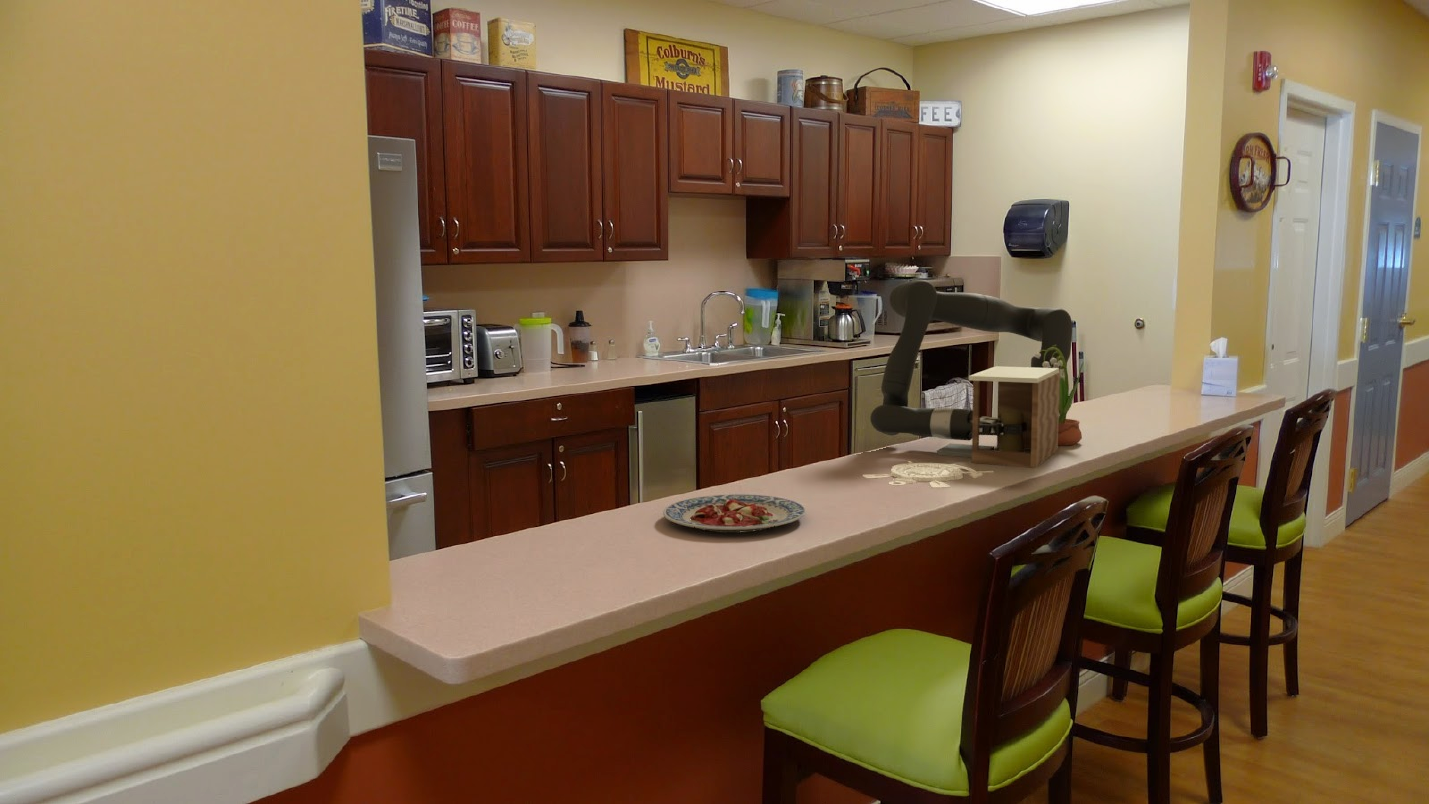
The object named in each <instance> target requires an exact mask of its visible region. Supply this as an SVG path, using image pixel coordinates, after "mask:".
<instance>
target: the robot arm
mask: <svg viewBox="0 0 1429 804" xmlns="http://www.w3.org/2000/svg"><path fill="white" fill-rule="evenodd" d="M889 304H890V308H892V310H893V311H894V313H895V314H897V315H899V316H900V317H902V318H904V322H903V325H902V326H903V328H902V330H901V332H900V335H899V336H898V340H897V341H896V343H895V344H894V346H893V349H892V350H891V352H890V354H889V356H888V358H887V361H886V363H885V364H886V365H885V368H884V373H883V376H882V381H881V387H880V388H881V389H880V391H881V394H882V395H883V400H882V404H881V405H878V406H877V407H875V408H874V409H873V410H872V412H871V413H870V423H871V426H872V427H873V429H875V430H876V431H877V432H879V433H881V434H884V435H887V436H892V437H893V436H896V435H899V434H910V435H913V436H917V437H926V438H928V437H930V438H938V439H944V440H956V441H967V442H969V441H972V428H973V409H970V408H969V409H967V408H948V407H945V408H943V407H941V408H932V407H931V408H930V407H929V408H928V407H926V408H925V407H909V392H910V390H911V389H910V388H911V384H912V379H913V377H914V376H913V374H914V370H915V366H916V361H917V359H918V355H919V352H920V349H921V346H922V343H923V340H924V337H925V335H926V333H927V331H928V330H927V329H928V326H929V324H930V322H931V320H934V321H935V320H936V321H940V322H943V323H946V324H951V325H955V326H957V327H958V326H959V327H962V328H967V329H971V330H976V331H983V332H989V333H990V332H991V333H1010V334H1015V335H1018V336H1020V337H1021V336H1022V337H1025V338H1028V339H1031V340H1033V341H1036V342H1041V347H1040V351H1041V350H1047V349H1048V348H1052V346H1053V345H1056V346H1053V347H1055V348H1058V349H1059V350H1060V351H1061V353H1062V355H1063V357H1064V359H1065V362H1066V366H1067V367H1068V362H1069V359H1070V356H1071V350H1072V339H1073V320H1072V318H1071V315H1070V313H1069V312H1068V311H1066V310H1065V309H1063V308H1057V307H1029V306H1028V307H1027V306H1018V305H1014V304H1011V303H1010V302H1007V301H1006V300H1004V299H1001V298H998V297H996V296H992V295H985V294H983V293H982V294H980V293H975V292H973V293H972V292H958V291H957V292H945V291H944V292H943V291H937V290H936V288H935V286H934V285H933V284H932V283H931V282H930V281H928V280H924V279H915V280H908V281H904V282H901V283H900V284H898V285H896V286H895V287H894V288H893V289H892V291H891V292H890V294H889ZM1040 351H1038V353H1040V354H1041V356H1040V359H1039V358H1036V357H1034V356H1035V355H1034V356H1032V357H1031V358H1030V359H1031V360H1030V367H1034V368H1044V367H1043V365H1042V364H1043V362H1044V354H1045V352H1046V351H1041V352H1040ZM1054 352H1056V350H1049V351H1048V352H1047V353H1046V356H1045V361H1046V362H1049V364H1050V366H1051V367H1048V368H1053V367H1054V364H1052V365H1051V362H1050V360H1051V358H1052V355H1053V353H1054ZM1058 356H1060V355H1059V353H1058V352H1057V353H1055V354H1054V355H1053V358H1057V357H1058ZM1057 360H1058V358H1057ZM1058 361H1060V358H1059V360H1058ZM1061 361H1062V359H1061ZM1057 363H1058V362H1057ZM1062 366H1063V365H1062ZM1060 367H1061V366H1059V369H1060ZM1063 371H1064V367H1062V368H1061V369H1060V371H1059V372H1060V374H1061V375H1062V373H1063ZM1063 376H1064V377H1065V375H1064V373H1063ZM1059 416H1060V414H1059ZM1026 430H1027V422H1023V423H1022V424H1021V425H1014V424H1006V426H1005V424H1004V423H1003V422H1002V420H1001V418H998V417H994V416H981V417H979V436H996V437H997V436H999V435H1000V434H1001V435H1003V434H1017V435H1020V434H1022V431H1026Z"/></svg>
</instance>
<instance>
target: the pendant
mask: <svg viewBox="0 0 1429 804" xmlns="http://www.w3.org/2000/svg"><path fill="white" fill-rule="evenodd" d="M907 461H908V462H909V463H908V462H907V463H903V462H902V463H900V464H895V465H892V466H891V470H890V473H880V474H879V473H878V474H876V473H875V474H873V473H872V474H870V473H869V474H862V477H863V478H864V479H880V478H881V479H882V478H885V479H886V478H890V477H894V478H893V479H892V480H891V481H889V482H888V485H890V486H897V485H899V486H905V485H906V484H912V485H913V484H917V482H929V483H928V484H929V485H930V487H931V488H932V489H947V488H949V489H950V488H952V487H951V485H949V484H947V483H945V482H947V481H955V480H960V479H963V478H964V477H963V474H968V475H969V476H970V477H972V478H973V479H976V478H981V477H982V476H983V475H984V473H985V474H986V473H987V474H988V473H989V474H990V473H994V470H984V471H982V470H981V471H979V470H978V471H976V470H975V469H974V468H972V467H971V468H970V467H968V466H963V465H958V463H952V464H951V463H949V464H948V463H938V462H936V463H935V462H913V461H911V460H907ZM963 470H966V471H963ZM896 477H897V478H896Z"/></svg>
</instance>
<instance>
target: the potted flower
mask: <svg viewBox="0 0 1429 804" xmlns="http://www.w3.org/2000/svg"><path fill="white" fill-rule="evenodd" d="M1053 346H1056V345H1053ZM1053 346H1052V348H1048V349H1047V350H1041V349H1040V350H1039V352H1041V351H1046V352H1045V354H1044V362H1043V364H1042V365H1043V367H1044V368H1048V367H1051V366H1050V364H1049V362H1046V361H1045V356H1046V353H1047V352H1048V351H1049V350H1056V352H1054V353H1053V355H1054V354H1055V353H1057V352H1058V353H1059V355H1060V356H1058V357H1057V358H1058V360H1059V358H1060V361H1058V360H1057V358H1053V355H1052V358H1051V360H1050V362H1051V365H1052V364H1054V367H1053V368H1059V366H1061V367H1060V369H1061V368H1062V367H1064V371H1063V373H1064V375H1065V377H1064V376H1063V373H1062V375H1061V374H1060V385H1059V414H1060V416H1059V423H1058V446H1072V445H1076V444H1078V443H1079V442H1080V441H1081V440H1082V439H1083V436H1082V431H1081V429H1080V423H1081V422H1080V420H1077V419H1071V418H1067V414H1068V413H1069V410H1070V408H1072V404H1073V400H1074V396H1075V393H1076V391H1077V387H1078V385H1079V380H1080V376H1081V371H1082V369H1083V365H1084V362H1082V363H1081V365H1080V367H1079V372H1078V377H1077V379H1076V381H1075V384H1074V386H1073V388H1072V389H1071V391H1070V393H1069V390H1070V389H1069V388H1070V386H1069V385H1070V383H1069V374H1068V373H1069V372H1068V365H1067V366H1066V362H1065V359H1064V357H1063V355H1062V353H1061V351H1060V350H1059V349H1058V348H1055V347H1053ZM1039 352H1036V353H1034V357H1036V358H1039V359H1040V356H1041V354H1040V353H1039ZM1061 359H1062V361H1061ZM1057 362H1058V363H1057ZM1062 365H1063V366H1062ZM1060 369H1059V371H1060Z"/></svg>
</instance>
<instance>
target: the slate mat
mask: <svg viewBox="0 0 1429 804" xmlns="http://www.w3.org/2000/svg"><path fill="white" fill-rule="evenodd" d="M979 449H981V450H995V446H992V445H980V444H979ZM936 455H938V456H948V457H949V456H951V457H962V458H963V457H965V458H972V444H962V443H948V444H947V445H945V446H942V447H941V448H939V449H936Z"/></svg>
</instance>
